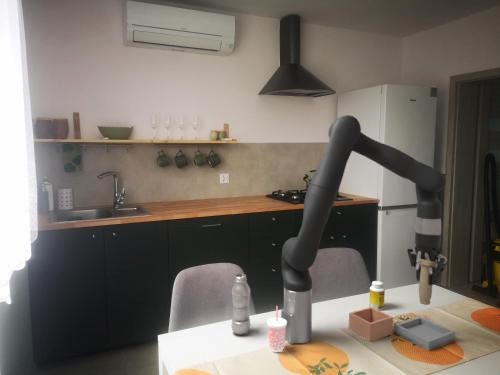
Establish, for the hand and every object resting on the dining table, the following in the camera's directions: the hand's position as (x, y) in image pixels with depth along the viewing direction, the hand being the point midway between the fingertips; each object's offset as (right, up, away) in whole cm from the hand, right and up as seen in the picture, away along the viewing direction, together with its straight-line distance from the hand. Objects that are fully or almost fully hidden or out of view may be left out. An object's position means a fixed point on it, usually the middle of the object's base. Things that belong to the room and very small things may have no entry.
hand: (425, 282), depth 121 cm
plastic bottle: (-61, -19, +6) cm, 64 cm away
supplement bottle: (-8, -17, +25) cm, 31 cm away
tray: (0, -19, +2) cm, 19 cm away
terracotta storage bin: (-16, -18, +5) cm, 25 cm away
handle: (0, -7, +1) cm, 7 cm away
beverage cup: (-49, -20, -5) cm, 53 cm away
